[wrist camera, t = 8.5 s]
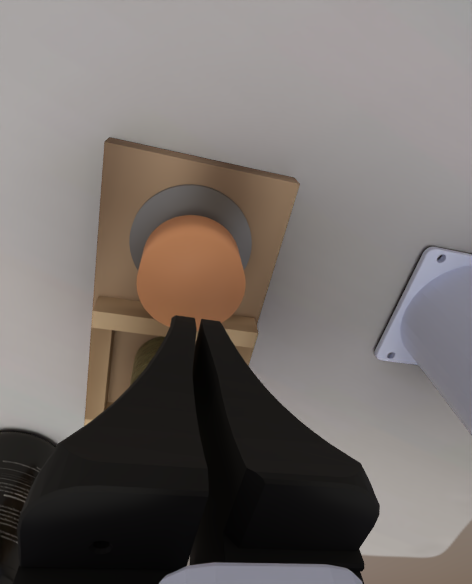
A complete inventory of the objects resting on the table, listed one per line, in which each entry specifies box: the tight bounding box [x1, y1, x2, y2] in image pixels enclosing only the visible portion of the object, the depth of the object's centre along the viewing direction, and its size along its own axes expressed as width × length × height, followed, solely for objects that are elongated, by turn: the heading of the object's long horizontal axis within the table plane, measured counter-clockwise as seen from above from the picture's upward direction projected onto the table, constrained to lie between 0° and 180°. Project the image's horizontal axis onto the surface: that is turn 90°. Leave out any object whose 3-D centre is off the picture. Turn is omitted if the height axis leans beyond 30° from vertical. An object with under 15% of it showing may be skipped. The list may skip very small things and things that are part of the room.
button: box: [136, 215, 246, 331], centre depth 17 cm, size 4×4×2 cm
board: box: [84, 137, 300, 426], centre depth 22 cm, size 9×18×3 cm, turn 167°
